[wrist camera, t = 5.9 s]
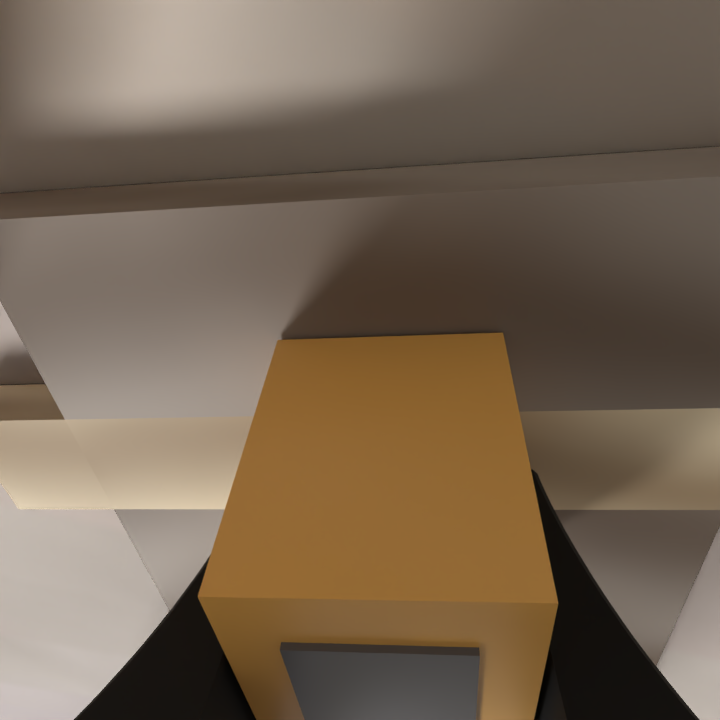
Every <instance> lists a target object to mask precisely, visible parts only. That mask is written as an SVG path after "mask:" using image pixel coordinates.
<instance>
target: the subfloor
mask: <svg viewBox="0 0 720 720" xmlns="http://www.w3.org/2000/svg"><path fill="white" fill-rule="evenodd" d="M0 302H1V303H2V305H3V307H4V309H5V311H6V313H7V314H8V316H9V318H10V320H11V322H12V323H13V325H14V327H15V329H16V331H17V333H18V334H19V336H20V338H21V340H22V342H23V344H24V345H25V347H26V349H27V351H28V353H29V355H30V356H31V358H32V360H33V362H34V364H35V366H36V367H37V369H38V371H39V373H40V375H41V377H42V378H43V380H44V382H45V384H33V385H0V483H1V485H2V486H3V487H4V489H5V490H6V492H7V493H8V495H9V496H10V497H11V499H12V500H13V502H14V503H15V505H16V506H17V507H18V509H114V510H115V512H116V514H117V516H118V517H119V519H120V521H121V523H122V525H123V527H124V528H125V530H126V532H127V534H128V536H129V538H130V539H131V541H132V543H133V545H134V547H135V549H136V550H137V552H138V554H139V556H140V558H141V560H142V561H143V563H144V565H145V567H146V569H147V571H148V572H149V574H150V576H151V578H152V580H153V582H154V583H155V585H156V587H157V589H158V591H159V593H160V594H161V596H162V598H163V600H164V602H165V604H166V605H167V607H168V609H169V611H170V610H171V609H172V608H173V606H174V605H175V603H176V602H177V601H178V599H179V598H180V597H181V595H182V594H183V593H184V591H185V590H186V589H187V587H188V586H189V584H190V583H191V582H192V580H193V579H194V578H195V576H196V575H197V574H198V572H199V571H200V569H201V568H202V566H203V565H204V563H205V562H206V560H207V559H208V557H209V556H210V554H211V552H212V549H213V546H214V542H215V539H216V536H217V533H218V529H219V526H220V523H221V520H222V517H223V513H224V510H225V507H226V504H227V501H228V497H229V494H230V491H231V488H232V485H233V481H234V478H235V475H236V472H237V469H238V465H239V462H240V459H241V456H242V453H243V449H244V446H245V443H246V440H247V436H248V433H249V430H250V427H251V424H252V420H253V417H254V414H255V411H256V408H257V404H258V401H259V398H260V395H261V392H262V388H263V385H264V382H265V379H266V376H267V372H268V369H269V366H270V363H271V360H272V356H273V353H274V350H275V347H276V344H277V340H291V339H322V338H352V337H383V336H413V335H444V334H474V333H503V335H504V340H505V345H506V350H507V355H508V359H509V364H510V369H511V374H512V379H513V384H514V389H515V394H516V399H517V403H518V408H519V413H520V418H521V423H522V428H523V433H524V438H525V443H526V448H527V452H528V457H529V462H530V467H531V469H533V470H534V471H535V472H536V473H538V476H539V478H540V481H541V483H542V485H543V487H544V490H545V492H546V494H547V496H548V498H549V500H550V502H551V504H552V506H553V508H554V510H555V512H556V514H557V516H558V518H559V520H560V521H561V523H562V525H563V527H564V529H565V531H566V532H567V534H568V536H569V538H570V539H571V541H572V543H573V545H574V546H575V548H576V550H577V551H578V553H579V555H580V556H581V558H582V560H583V561H584V563H585V564H586V566H587V568H588V569H589V571H590V573H591V574H592V576H593V578H594V579H595V581H596V582H597V584H598V585H599V587H600V588H601V590H602V591H603V593H604V595H605V596H606V598H607V599H608V600H609V602H610V603H611V605H612V606H613V608H614V609H615V611H616V612H617V614H618V615H619V617H620V618H621V619H622V621H623V622H624V624H625V625H626V627H627V628H628V629H629V631H630V632H631V634H632V635H633V636H634V638H635V639H636V640H637V642H638V643H639V645H640V646H641V647H642V649H643V650H644V651H645V653H646V654H647V655H648V657H649V658H650V659H651V660H652V662H653V663H654V664H655V666H656V665H657V663H658V661H659V659H660V656H661V654H662V652H663V650H664V648H665V645H666V643H667V641H668V639H669V637H670V634H671V632H672V630H673V628H674V625H675V623H676V621H677V619H678V617H679V614H680V612H681V610H682V608H683V606H684V603H685V601H686V599H687V597H688V595H689V592H690V590H691V588H692V586H693V584H694V581H695V579H696V577H697V575H698V572H699V570H700V568H701V566H702V564H703V561H704V559H705V557H706V555H707V553H708V550H709V548H710V546H711V544H712V542H713V539H714V537H715V535H716V533H717V531H718V528H719V526H720V146H719V147H703V148H688V149H673V150H658V151H642V152H627V153H612V154H596V155H581V156H566V157H551V158H535V159H520V160H505V161H489V162H474V163H459V164H444V165H428V166H413V167H398V168H382V169H367V170H352V171H336V172H321V173H306V174H291V175H275V176H260V177H245V178H229V179H214V180H199V181H184V182H168V183H153V184H138V185H122V186H107V187H92V188H77V189H61V190H46V191H31V192H15V193H0Z"/></svg>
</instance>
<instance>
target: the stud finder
mask: <svg viewBox="0 0 720 720" xmlns="http://www.w3.org/2000/svg"><path fill="white" fill-rule="evenodd" d="M198 599H199V601H200V603H201V605H202V607H203V609H204V611H205V613H206V615H207V618H208V620H209V622H210V624H211V626H212V628H213V630H214V632H215V634H216V636H217V638H218V641H219V643H220V645H221V647H222V649H223V651H224V653H225V655H226V657H227V659H228V661H229V664H230V666H231V668H232V670H233V672H234V674H235V676H236V678H237V680H238V682H239V684H240V687H241V689H242V691H243V693H244V695H245V697H246V699H247V701H248V703H249V705H250V707H251V710H252V712H253V714H254V716H255V718H256V720H534V717H535V712H536V708H537V703H538V698H539V693H540V689H541V684H542V679H543V674H544V670H545V665H546V660H547V655H548V650H549V646H550V641H551V636H552V631H553V627H554V622H555V617H556V612H557V608H558V599H557V594H556V589H555V585H554V580H553V575H552V570H551V565H550V560H549V555H548V550H547V545H546V541H545V536H544V531H543V526H542V521H541V516H540V511H539V506H538V501H537V496H536V492H535V487H534V482H533V477H532V472H531V467H530V462H529V457H528V452H527V448H526V443H525V438H524V433H523V428H522V423H521V418H520V413H519V408H518V403H517V399H516V394H515V389H514V384H513V379H512V374H511V369H510V364H509V359H508V355H507V350H506V345H505V340H504V335H503V333H474V334H444V335H413V336H383V337H352V338H322V339H291V340H277V344H276V347H275V350H274V353H273V356H272V360H271V363H270V366H269V369H268V372H267V376H266V379H265V382H264V385H263V388H262V392H261V395H260V398H259V401H258V404H257V408H256V411H255V414H254V417H253V420H252V424H251V427H250V430H249V433H248V436H247V440H246V443H245V446H244V449H243V453H242V456H241V459H240V462H239V465H238V469H237V472H236V475H235V478H234V481H233V485H232V488H231V491H230V494H229V497H228V501H227V504H226V507H225V510H224V513H223V517H222V520H221V523H220V526H219V529H218V533H217V536H216V539H215V542H214V546H213V549H212V552H211V555H210V558H209V562H208V565H207V568H206V571H205V574H204V578H203V581H202V584H201V587H200V590H199V594H198Z"/></svg>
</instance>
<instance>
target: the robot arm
mask: <svg viewBox="0 0 720 720" xmlns="http://www.w3.org/2000/svg"><path fill="white" fill-rule="evenodd" d="M531 472H532V477H533V482H534V487H535V492H536V496H537V501H538V506H539V511H540V516H541V521H542V526H543V531H544V536H545V541H546V545H547V550H548V555H549V560H550V565H551V570H552V575H553V580H554V585H555V589H556V594H557V599H558V608H557V612H556V617H555V622H554V627H553V631H552V636H551V641H550V646H549V650H548V655H547V660H546V665H545V670H544V674H543V679H542V684H541V689H540V693H539V698H538V703H537V708H536V712H535V717H534V720H699V719H698V718H697V716H696V715H695V714H694V713H693V712H692V710H691V709H690V708H689V707H688V706H687V704H686V703H685V702H684V701H683V699H682V698H681V697H680V696H679V694H678V693H677V692H676V691H675V690H674V688H673V687H672V686H671V685H670V683H669V682H668V681H667V680H666V678H665V677H664V676H663V675H662V673H661V672H660V671H659V669H658V668H657V667H656V666H655V664H654V663H653V662H652V660H651V659H650V658H649V657H648V655H647V654H646V653H645V651H644V650H643V649H642V647H641V646H640V645H639V643H638V642H637V640H636V639H635V638H634V636H633V635H632V634H631V632H630V631H629V629H628V628H627V627H626V625H625V624H624V622H623V621H622V619H621V618H620V617H619V615H618V614H617V612H616V611H615V609H614V608H613V606H612V605H611V603H610V602H609V600H608V599H607V598H606V596H605V595H604V593H603V591H602V590H601V588H600V587H599V585H598V584H597V582H596V581H595V579H594V578H593V576H592V574H591V573H590V571H589V569H588V568H587V566H586V564H585V563H584V561H583V560H582V558H581V556H580V555H579V553H578V551H577V550H576V548H575V546H574V545H573V543H572V541H571V539H570V538H569V536H568V534H567V532H566V531H565V529H564V527H563V525H562V523H561V521H560V520H559V518H558V516H557V514H556V512H555V510H554V508H553V506H552V504H551V502H550V500H549V498H548V496H547V494H546V492H545V490H544V487H543V485H542V483H541V481H540V478H539V476H538V473H536V472H535V471H534V470H533V469H531ZM210 555H211V554H210ZM209 558H210V556H209V557H208V559H207V560H206V562H205V563H204V565H203V566H202V568H201V569H200V571H199V572H198V574H197V575H196V576H195V578H194V579H193V580H192V582H191V583H190V584H189V586H188V587H187V589H186V590H185V591H184V593H183V594H182V595H181V597H180V598H179V599H178V601H177V602H176V603H175V605H174V606H173V608H172V609H171V610H170V611H169V613H168V614H167V615H166V617H165V618H164V619H163V620H162V622H161V623H160V624H159V625H158V627H157V628H156V629H155V630H154V632H153V633H152V634H151V635H150V636H149V638H148V639H147V640H146V641H145V642H144V644H143V645H142V646H141V647H140V648H139V650H138V651H137V652H136V653H135V654H134V655H133V657H132V658H131V659H130V660H129V661H128V662H127V663H126V665H125V666H124V667H123V668H122V669H121V670H120V671H119V672H118V673H117V674H116V676H115V677H114V678H113V679H112V680H111V681H110V682H109V683H108V684H107V685H106V687H105V688H104V689H103V690H102V691H101V692H100V693H99V694H98V695H97V696H96V697H95V698H94V699H93V700H92V702H91V703H90V704H89V705H88V706H87V707H86V708H85V709H84V710H83V711H82V712H81V713H80V714H79V715H78V716H77V717H76V718H75V719H74V720H256V718H255V716H254V714H253V712H252V710H251V707H250V705H249V703H248V701H247V699H246V697H245V695H244V693H243V691H242V689H241V687H240V684H239V682H238V680H237V678H236V676H235V674H234V672H233V670H232V668H231V666H230V664H229V661H228V659H227V657H226V655H225V653H224V651H223V649H222V647H221V645H220V643H219V641H218V638H217V636H216V634H215V632H214V630H213V628H212V626H211V624H210V622H209V620H208V618H207V615H206V613H205V611H204V609H203V607H202V605H201V603H200V601H199V599H198V594H199V590H200V587H201V584H202V581H203V578H204V574H205V571H206V568H207V565H208V562H209Z"/></svg>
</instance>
